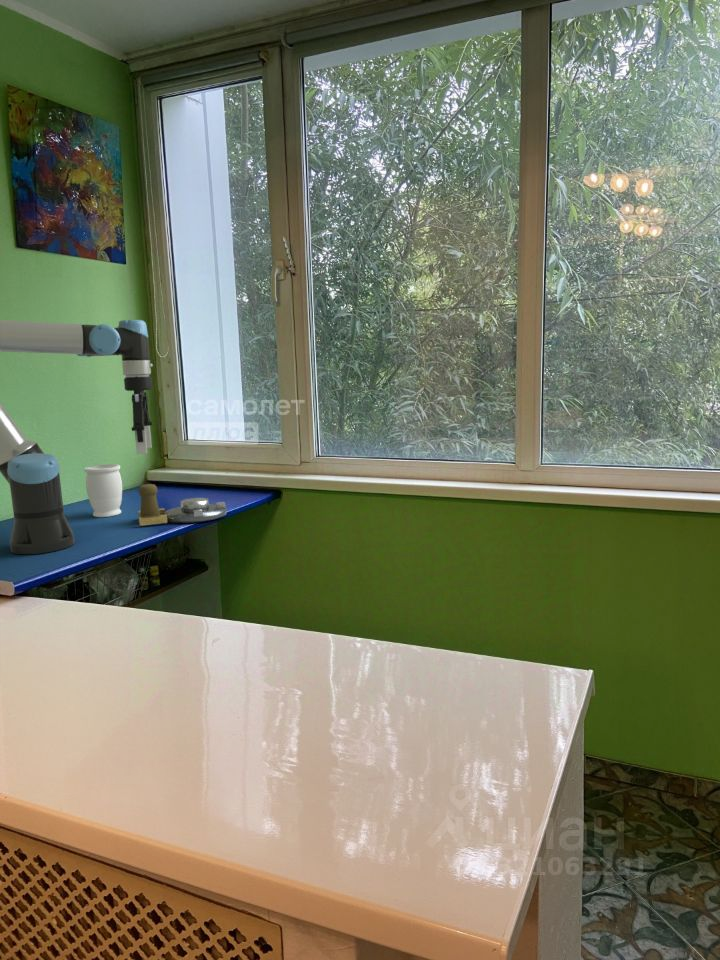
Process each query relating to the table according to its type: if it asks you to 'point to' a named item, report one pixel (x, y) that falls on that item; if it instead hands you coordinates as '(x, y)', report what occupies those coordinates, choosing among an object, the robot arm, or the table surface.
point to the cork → (148, 500)
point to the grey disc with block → (187, 512)
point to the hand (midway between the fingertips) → (144, 450)
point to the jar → (104, 489)
